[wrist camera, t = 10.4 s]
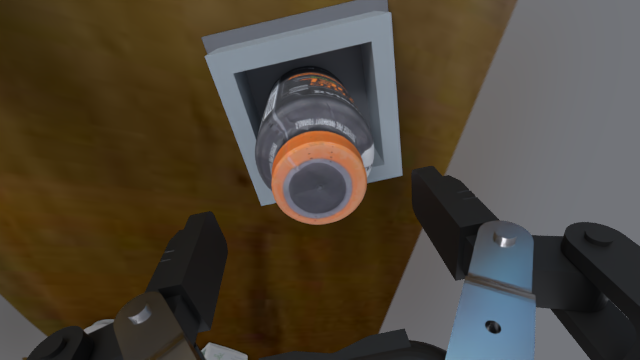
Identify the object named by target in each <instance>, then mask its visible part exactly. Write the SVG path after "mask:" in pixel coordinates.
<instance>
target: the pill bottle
mask: <svg viewBox="0 0 640 360" xmlns="http://www.w3.org/2000/svg"><path fill="white" fill-rule="evenodd" d="M255 160H256V165H257V169H258V172H259V174H260V176H261V178H262V180H263V181H264V183H265V184H266V186H267V187H268V188H269V189H270V190H271V191H272V193H273V196H274V199H275V201H276V203H277V204H278V206H279V207H280V208H281V210H282V211H283V212H284V213H285V214H287V215H288V216H290V217H291V218H293V219H295V220H297V221H300V222H303V223H307V224H313V225H322V224H328V223H333V222H336V221H338V220H341V219H343V218H345V217H346V216H348V215H349V214H351V213H352V212H353V211H354V210H355V209H356V208H357V207H358V206H359V204H360V203H361V201H362V200H363V197H364V195H365V192H366V189H367V177H368V175H369V173H370V171H371V168H372V165H373V160H374V140H373V136H372V133H371V131H370V129H369V126H368V125H367V123H366V121H365V119H364V118H363V116H362V115H361V113H360V111H359V110H358V108H357V106H356V105H355V103H354V102H353V100H352V98H351V96H350V95H349V93H348V92H347V90H346V88H345V87H344V85H343V84H342V82H341V81H340V80H339V79H338V78H337V77H336V76H335V75H334V74H332V73H331V72H330V71H328V70H326V69H323V68H320V67H316V66H304V67H299V68H295V69H292V70H290V71H288V72H287V73H285V74H284V75H282V76H281V77H280V78H279V79H278V80H277V81H276V82H275V84H274V85H273V87H272V89H271V91H270V93H269V97H268V101H267V104H266V108H265V111H264V115H263V118H262V122H261V125H260V129H259V133H258V136H257V139H256V145H255Z"/></svg>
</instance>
